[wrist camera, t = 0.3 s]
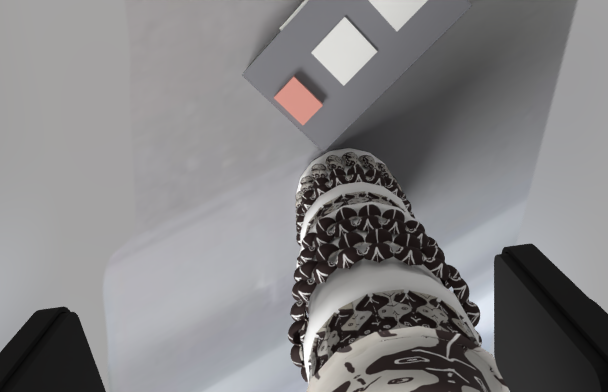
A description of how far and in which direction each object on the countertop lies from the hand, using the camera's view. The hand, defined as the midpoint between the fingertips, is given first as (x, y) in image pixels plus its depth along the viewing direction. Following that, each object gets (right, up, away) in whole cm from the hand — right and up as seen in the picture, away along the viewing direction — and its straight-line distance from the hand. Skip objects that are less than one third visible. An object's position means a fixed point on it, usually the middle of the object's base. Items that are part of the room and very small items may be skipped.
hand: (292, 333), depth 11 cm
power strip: (+4, +15, +25) cm, 30 cm away
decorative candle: (+4, +3, +30) cm, 31 cm away
